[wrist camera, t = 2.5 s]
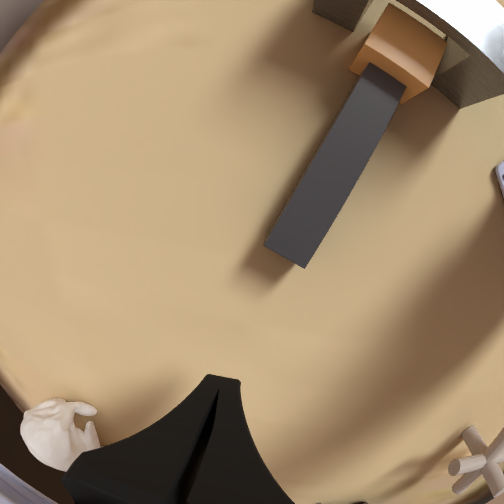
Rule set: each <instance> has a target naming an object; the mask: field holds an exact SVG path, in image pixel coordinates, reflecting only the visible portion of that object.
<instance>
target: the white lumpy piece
mask: <svg viewBox="0 0 504 504" xmlns="http://www.w3.org/2000/svg"><path fill="white" fill-rule="evenodd" d="M75 413H77V414H79V415H82V416H93V415H96V414H97V410H96V408H95V407H93V406H91V405H89V404H87V403H85V402H80V401H77V402H66V400H64V399H61V398H55V399H53V398H52V399H50V400H47V401H45V402H42V403H39V404H38V405H36V406H35V407H34V408H33V409H31V410H28V411H26V412H25V413H24V420H23V421H22V423H21V429H20V430H21V436H22V438H23V439H24V441H25V443H26V445H27V447H28V449H29V450H30V452H31V453H32V454H33V455H34V456H35V457H36V458H37V459H38V460H40V461H41V462H42V463H44V464H46V465H48V466H51V467H53V468H55V469H58V470H61V471H66V472H67V470H68V469H69V467H70V466H71V464H72V463H73V462H74V461H75V459H76V458H77V457H78V456H79V455H80V454H81V453H82V452H86V451H90V450H94V449H97V448H101V447H104V446H100V443H99V439H98V436H97V432H96V429H95V426H94V423H93V422H92V421H88V422H87V423H86V426H85V431H84V432H83V431H82V430H81V429H79V428H76V427H75V424H74V421H73V417H74V415H75Z"/></svg>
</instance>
